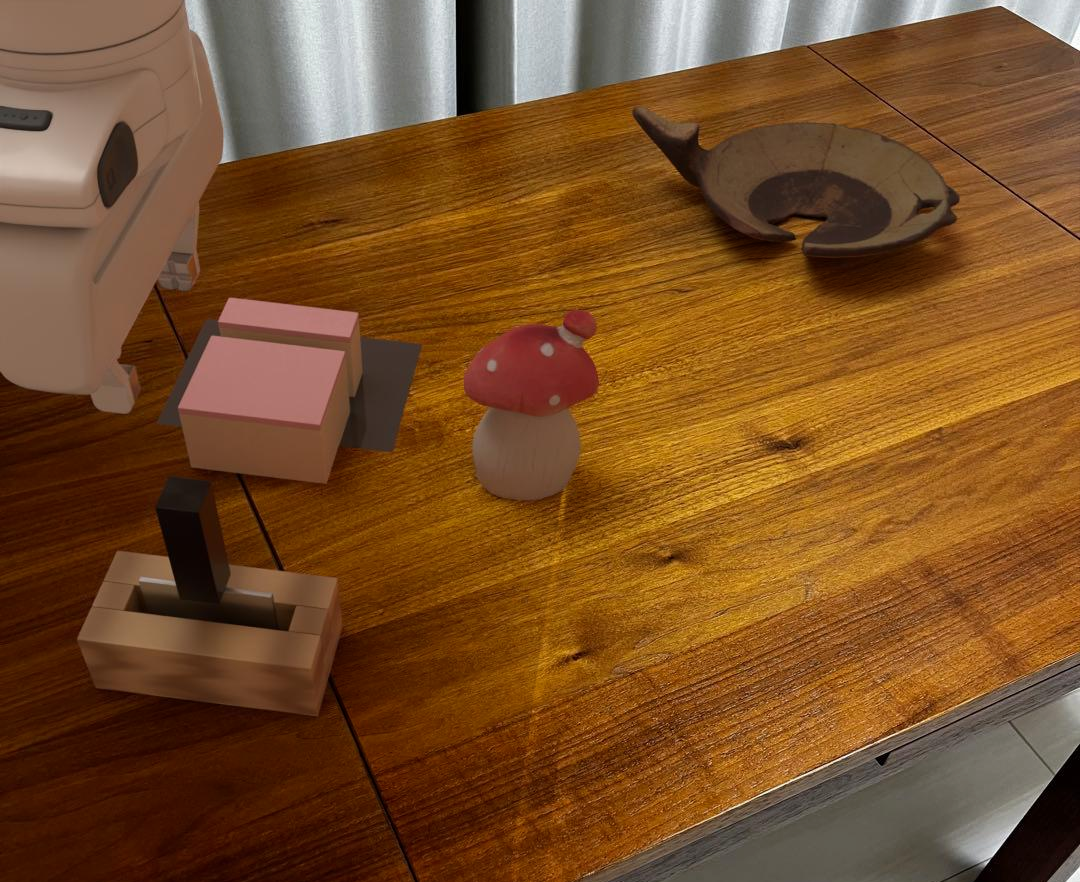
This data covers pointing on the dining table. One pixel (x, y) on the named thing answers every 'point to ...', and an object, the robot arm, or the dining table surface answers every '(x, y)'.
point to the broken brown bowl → (812, 183)
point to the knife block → (214, 641)
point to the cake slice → (296, 329)
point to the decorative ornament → (531, 406)
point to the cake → (266, 409)
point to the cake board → (370, 408)
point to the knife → (200, 563)
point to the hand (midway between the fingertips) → (151, 339)
